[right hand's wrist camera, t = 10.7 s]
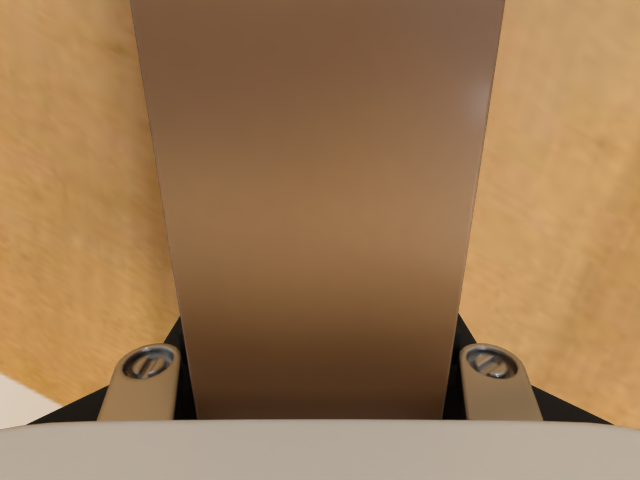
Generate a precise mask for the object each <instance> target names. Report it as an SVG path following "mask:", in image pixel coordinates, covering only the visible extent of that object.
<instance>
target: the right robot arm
mask: <svg viewBox="0 0 640 480" xmlns="http://www.w3.org/2000/svg"><path fill="white" fill-rule="evenodd" d="M0 480H640V429H634V428H629V427H623V426H617V425H613V424H611V423H609V422H607V421H605V420H603V419H601V418H599V417H597V416H595V415H593V414H591V413H588V412H586V411H584V410H582V409H580V408H578V407H576V406H574V405H572V404H570V403H568V402H565V401H563V400H561V399H559V398H557V397H555V396H553V395H551V394H549V393H547V392H545V391H543V390H540V389H538V388H536V387H534V386H532V385H531V384H530V381H529V378H528V375H527V373H526V370H525V367H524V365H523V364H522V362H521V361H520V360H519V359H518V358H517V357H516V356H515V355H514V354H512V353H511V352H509V351H507V350H505V349H503V348H501V347H498V346H495V345H490V344H483V343H476V341H475V339H474V338H473V336H472V334H471V333H470V331H469V329H468V328H467V326H466V325H465V323H464V321H463V320H462V318H461V316H460V315H459V313H458V317H457V324H456V331H455V337H454V344H453V351H452V357H451V364H450V371H449V377H448V384H447V391H446V397H445V404H444V410H443V417H442V420H375V419H263V420H197V416H196V410H195V404H194V398H193V391H192V385H191V379H190V373H189V366H188V360H187V354H186V348H185V341H184V335H183V329H182V323H181V316H180V317H179V318H178V320H177V322H176V323H175V325H174V327H173V328H172V330H171V332H170V333H169V335H168V336H167V338H166V340H165V341H164V343H157V344H150V345H145V346H142V347H139V348H137V349H135V350H133V351H131V352H129V353H128V354H126V355H125V356H124V357H123V358H122V359H121V360H120V361H119V362H118V364H117V365H116V367H115V370H114V373H113V375H112V378H111V381H110V384H109V385H108V386H106V387H104V388H102V389H100V390H98V391H96V392H94V393H91V394H89V395H87V396H85V397H83V398H81V399H79V400H77V401H75V402H73V403H71V404H68V405H66V406H64V407H62V408H60V409H58V410H56V411H54V412H52V413H50V414H48V415H46V416H43V417H41V418H39V419H37V420H35V421H33V422H31V423H29V424H27V425H23V426H17V427H11V428H6V429H0Z"/></svg>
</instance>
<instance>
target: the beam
mask: <svg viewBox="0 0 640 480" xmlns="http://www.w3.org/2000/svg"><path fill="white" fill-rule="evenodd" d="M130 4H131V10H132V17H133V23H134V29H135V35H136V42H137V48H138V54H139V60H140V67H141V73H142V79H143V85H144V92H145V98H146V104H147V110H148V117H149V123H150V129H151V135H152V142H153V148H154V154H155V160H156V167H157V173H158V179H159V185H160V192H161V198H162V204H163V210H164V217H165V223H166V229H167V235H168V241H169V248H170V254H171V260H172V266H173V273H174V279H175V285H176V291H177V298H178V304H179V310H180V316H181V323H182V329H183V335H184V341H185V348H186V354H187V360H188V366H189V373H190V379H191V385H192V391H193V398H194V404H195V410H196V416H197V420H263V419H375V420H442V417H443V410H444V404H445V397H446V391H447V384H448V377H449V371H450V364H451V357H452V351H453V344H454V337H455V331H456V324H457V317H458V311H459V304H460V298H461V291H462V284H463V278H464V271H465V264H466V258H467V251H468V244H469V238H470V231H471V224H472V218H473V211H474V204H475V198H476V191H477V185H478V178H479V171H480V165H481V158H482V151H483V145H484V138H485V131H486V125H487V118H488V111H489V105H490V98H491V92H492V85H493V78H494V72H495V65H496V58H497V52H498V45H499V38H500V32H501V25H502V18H503V12H504V5H505V0H130Z"/></svg>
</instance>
